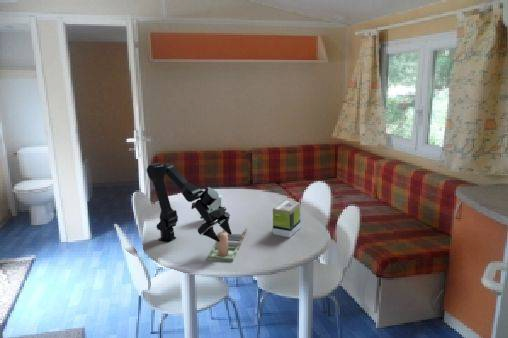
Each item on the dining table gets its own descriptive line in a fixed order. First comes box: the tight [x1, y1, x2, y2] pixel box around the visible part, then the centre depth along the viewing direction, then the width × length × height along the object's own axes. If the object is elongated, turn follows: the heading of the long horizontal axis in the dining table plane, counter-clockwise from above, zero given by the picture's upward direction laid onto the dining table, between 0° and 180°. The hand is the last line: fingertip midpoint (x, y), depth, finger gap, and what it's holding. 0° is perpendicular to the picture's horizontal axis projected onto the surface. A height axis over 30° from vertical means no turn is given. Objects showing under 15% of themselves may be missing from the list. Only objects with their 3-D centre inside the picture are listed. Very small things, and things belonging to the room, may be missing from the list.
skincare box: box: [209, 194, 224, 210], centre depth 219 cm, size 8×6×15 cm
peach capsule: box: [216, 231, 229, 257], centre depth 176 cm, size 5×5×10 cm
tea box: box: [272, 199, 302, 238], centre depth 202 cm, size 15×10×15 cm, turn 152°
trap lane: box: [207, 228, 248, 263], centre depth 189 cm, size 36×12×1 cm, turn 171°
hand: (225, 237), depth 175 cm, fingers open, 9 cm apart
